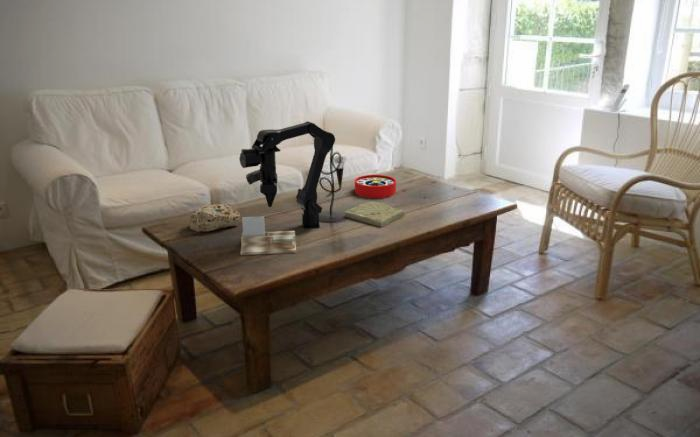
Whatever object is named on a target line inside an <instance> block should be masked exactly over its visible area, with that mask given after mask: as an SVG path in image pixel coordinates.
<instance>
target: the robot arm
mask: <svg viewBox="0 0 700 437" xmlns="http://www.w3.org/2000/svg"><path fill="white" fill-rule="evenodd" d="M308 134H309V136H310V137H311V138H313V149H314V153H313V156H312V159H311V162H310V167H309V170H308V174H307V177H306V181H305V184H304V186H303V187H302V188H298V189H297V194H296V196H295V199H296V203H297V205H298V206H299V207H300V209H301V210H303V211H302V212H303V213H302V214H301V221H302V223H301V224H302V226H303V228H304V229H310V228H311V229H312V228H313V229H314V228H320V227H321V226H320V224H321V223H320V214H321V213H322V210H323V207H322V206H321V205H320V204H318V203H317V202H318V192H317V189H318V185H319V181H320V177H321V175H322V171H323V168H324V164H325V162H326V158H327V155H328V154H329V153H330V152H331V151H332V149H333V147H334V145H335V142H336V137H335V135H334V133H332V132H330V131H326V130H324V129H322V127H319V126H318V125H317V124H315V123H314V122H311V121H305V122H302V123H299V124H295V125H292V126H291V125H290V126H288V127H287V126H286V127H283V128H280V129H261V130H260V131H258V134H257V135H256V139H255V141H254V142H253V143H252V146H251V148H242V149H241V152H240V155H239V163H240V166H241V168H243V169H246V168H247V169H248V168H252V167H258V166H259V165H260V166H259V169H257V170H253V171H251V172H250V173H247V174H246V175H245V179H246V182H247V183H248V185H253V184H254V183H257V182H259V181H260V183H261V184H259V192H260V193H261V194H262V195H264V197H265V199H266V202H267V203H266V204H267V206H268V208H271V207H273V204H274V201H275V199H276V197H277V196H276V195H277V194H278V173H277V160H276V153H279V152H281V149H280V148H278V145H281V143H282V142H284V141H286V140H290V139H293V138H297V137H301V136H306V135H308Z"/></svg>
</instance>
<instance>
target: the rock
mask: <svg viewBox="0 0 700 437" xmlns="http://www.w3.org/2000/svg"><path fill="white" fill-rule="evenodd" d="M240 219H241V213H240V212H239V211H238V210H237V209H235V208H234V207H233V206H232V205H231V204H227V203H219V204H212V203H211V204H208V205H201V206H199V208H196V209H195V210H193V211H192V212H191V214H190V215H189V229H190V230H192V231H195V232H198V233H200V232H210V231H211V232H212V231H215V230H220V229H221V230H222V229H224V228H227V227H236V226H237V227H238V225H239V222H240Z"/></svg>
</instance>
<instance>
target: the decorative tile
mask: <svg viewBox="0 0 700 437" xmlns="http://www.w3.org/2000/svg"><path fill="white" fill-rule="evenodd" d="M344 217H345V218H349V219H352V220H356V221H359V222H362V223H366V224H370V225H373V226H377V227H380V228H384V227H385V226H387V225H389V224H391V223H393V222H395V221H397V220H400V219H401V218H403V217H405V212H404V210H403V209H400V208H395V207H392V206H390V205H388V204H386V203H384V202H377V201H371V200H369V201H367V202H365V203H360V204H357V205H355V207H351V208H350V209H348V210H345V212H344Z"/></svg>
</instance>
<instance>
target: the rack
mask: <svg viewBox="0 0 700 437" xmlns="http://www.w3.org/2000/svg"><path fill="white" fill-rule="evenodd" d="M288 235H293V241H295V248H287V249H270V241H271V239H273V236H288ZM240 240H241V246H240V256H249V255H267V254H269V255H270V254H272V255H273V254H291V253H297V245H296V244H297V242H296V231H295V230H283V231H281V230H279V231H265V236H254V237H243V232H242V233H241V237H240Z"/></svg>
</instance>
